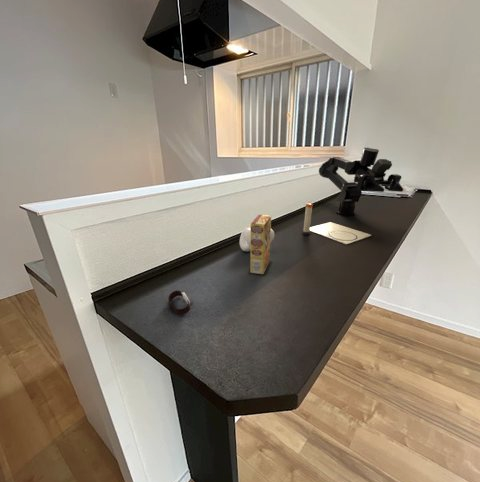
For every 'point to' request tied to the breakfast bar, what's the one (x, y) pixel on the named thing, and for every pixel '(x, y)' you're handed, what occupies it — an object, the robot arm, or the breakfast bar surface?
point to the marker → (307, 218)
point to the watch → (179, 293)
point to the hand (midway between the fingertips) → (393, 190)
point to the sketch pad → (339, 233)
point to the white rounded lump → (249, 238)
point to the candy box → (260, 243)
